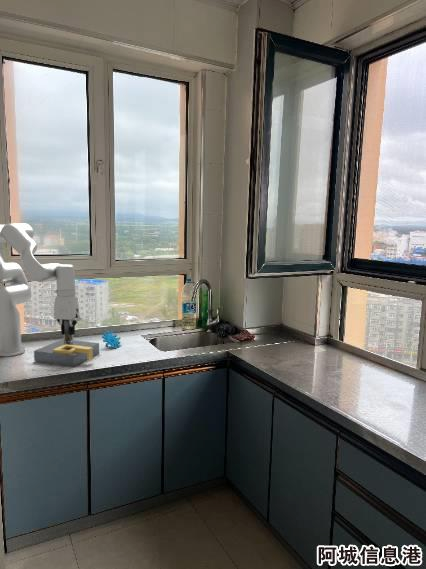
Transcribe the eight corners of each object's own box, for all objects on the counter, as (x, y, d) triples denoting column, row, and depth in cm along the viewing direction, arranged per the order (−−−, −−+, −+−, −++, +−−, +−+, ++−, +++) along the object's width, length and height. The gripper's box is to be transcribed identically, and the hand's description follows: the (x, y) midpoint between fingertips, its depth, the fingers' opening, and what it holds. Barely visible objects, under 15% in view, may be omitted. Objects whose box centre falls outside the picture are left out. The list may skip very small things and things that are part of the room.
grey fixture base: (34, 361, 187) (32, 328, 185) (62, 349, 206) (61, 318, 204) (73, 367, 182) (72, 332, 179) (99, 353, 201) (98, 322, 198)
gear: (108, 348, 204) (100, 331, 208) (102, 355, 206) (94, 338, 210) (126, 346, 213) (117, 329, 217) (119, 352, 215) (111, 336, 219)
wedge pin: (63, 340, 187) (61, 313, 185) (67, 338, 190) (66, 312, 188) (69, 341, 186) (68, 314, 184) (73, 339, 189) (72, 312, 187)
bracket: (52, 358, 186) (52, 347, 185) (65, 352, 195) (65, 342, 194) (85, 362, 182) (84, 351, 181) (96, 356, 190) (96, 345, 189)
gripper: (44, 293, 184) (46, 335, 186) (77, 295, 179) (79, 338, 181) (55, 290, 191) (57, 330, 193) (87, 292, 186) (89, 333, 189)
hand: (68, 333), depth 187 cm, fingers closed on wedge pin, 3 cm apart
